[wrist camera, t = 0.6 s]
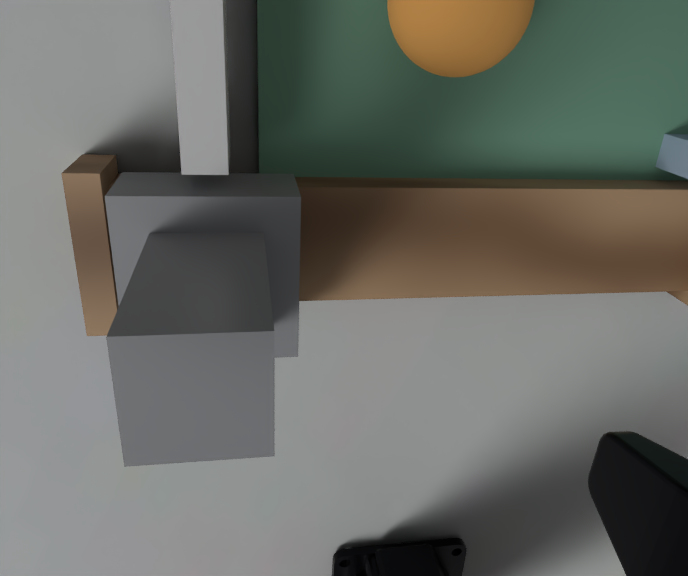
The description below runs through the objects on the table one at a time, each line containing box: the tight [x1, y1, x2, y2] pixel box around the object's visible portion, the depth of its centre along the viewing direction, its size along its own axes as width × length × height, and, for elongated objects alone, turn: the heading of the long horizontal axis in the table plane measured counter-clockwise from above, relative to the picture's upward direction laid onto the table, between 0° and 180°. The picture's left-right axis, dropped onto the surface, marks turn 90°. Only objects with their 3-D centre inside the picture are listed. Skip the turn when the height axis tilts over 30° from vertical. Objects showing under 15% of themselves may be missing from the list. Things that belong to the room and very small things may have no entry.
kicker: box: [105, 0, 301, 467], centre depth 14 cm, size 12×5×9 cm, turn 177°
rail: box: [62, 154, 688, 336], centre depth 20 cm, size 5×23×2 cm, turn 87°
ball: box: [387, 0, 535, 77], centre depth 16 cm, size 4×4×4 cm
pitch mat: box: [257, 0, 688, 181], centre depth 19 cm, size 10×21×1 cm, turn 87°
